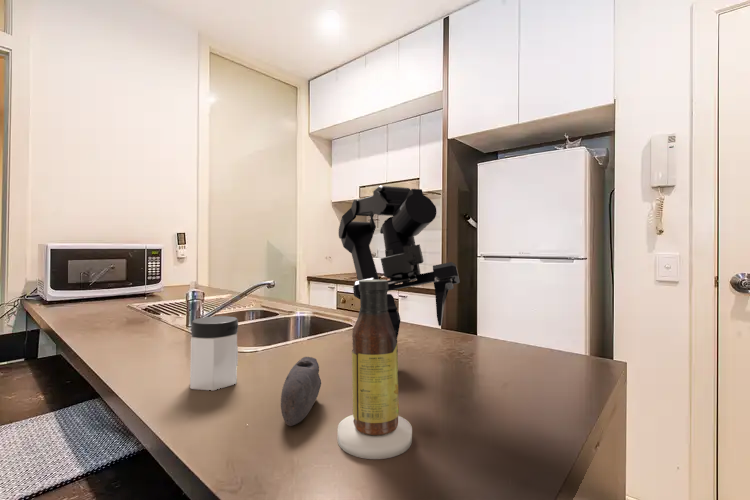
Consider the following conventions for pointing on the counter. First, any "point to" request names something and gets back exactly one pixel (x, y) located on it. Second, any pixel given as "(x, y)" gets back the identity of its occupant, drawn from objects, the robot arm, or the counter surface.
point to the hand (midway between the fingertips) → (413, 330)
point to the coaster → (374, 440)
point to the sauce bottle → (374, 363)
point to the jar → (213, 352)
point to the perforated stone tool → (300, 390)
